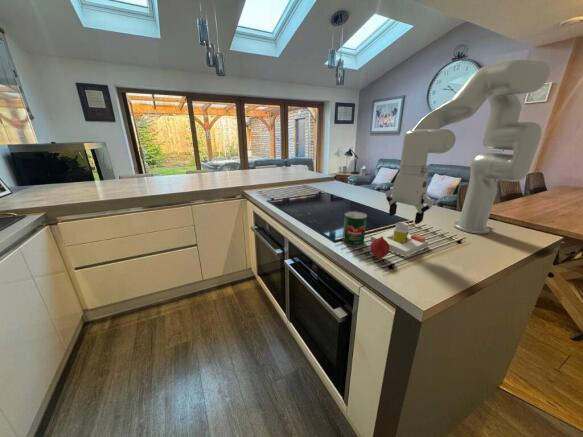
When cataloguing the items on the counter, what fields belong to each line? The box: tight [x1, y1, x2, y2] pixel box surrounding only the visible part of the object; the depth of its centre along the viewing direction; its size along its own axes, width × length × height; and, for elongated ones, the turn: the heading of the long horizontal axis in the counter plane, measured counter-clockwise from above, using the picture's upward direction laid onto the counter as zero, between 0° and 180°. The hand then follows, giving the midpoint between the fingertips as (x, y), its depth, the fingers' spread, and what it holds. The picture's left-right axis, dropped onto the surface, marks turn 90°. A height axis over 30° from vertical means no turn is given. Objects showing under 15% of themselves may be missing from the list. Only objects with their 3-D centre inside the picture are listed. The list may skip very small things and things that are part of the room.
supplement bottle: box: [392, 221, 409, 244], centre depth 85 cm, size 5×5×8 cm
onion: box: [370, 236, 390, 260], centre depth 76 cm, size 6×6×8 cm
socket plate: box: [369, 228, 430, 256], centre depth 86 cm, size 14×14×4 cm
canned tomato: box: [342, 210, 368, 247], centre depth 87 cm, size 8×8×11 cm
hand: (404, 218), depth 83 cm, fingers open, 9 cm apart
